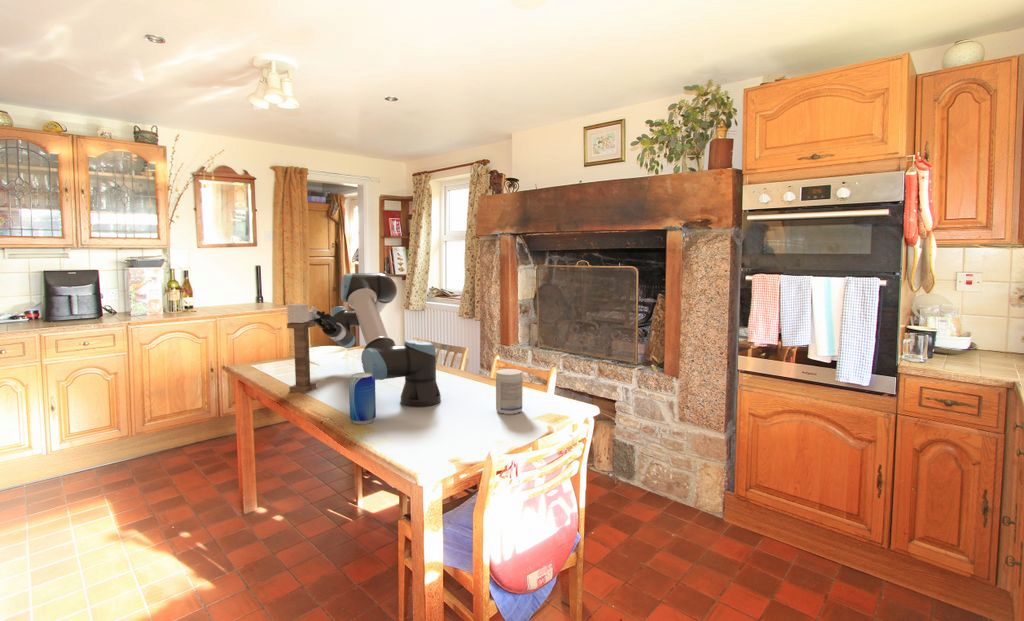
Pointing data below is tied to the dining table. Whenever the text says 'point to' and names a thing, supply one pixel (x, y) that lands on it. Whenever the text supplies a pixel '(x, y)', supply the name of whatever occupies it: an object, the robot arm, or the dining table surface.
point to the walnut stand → (302, 357)
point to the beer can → (362, 398)
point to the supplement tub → (509, 391)
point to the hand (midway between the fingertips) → (307, 308)
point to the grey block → (299, 313)
